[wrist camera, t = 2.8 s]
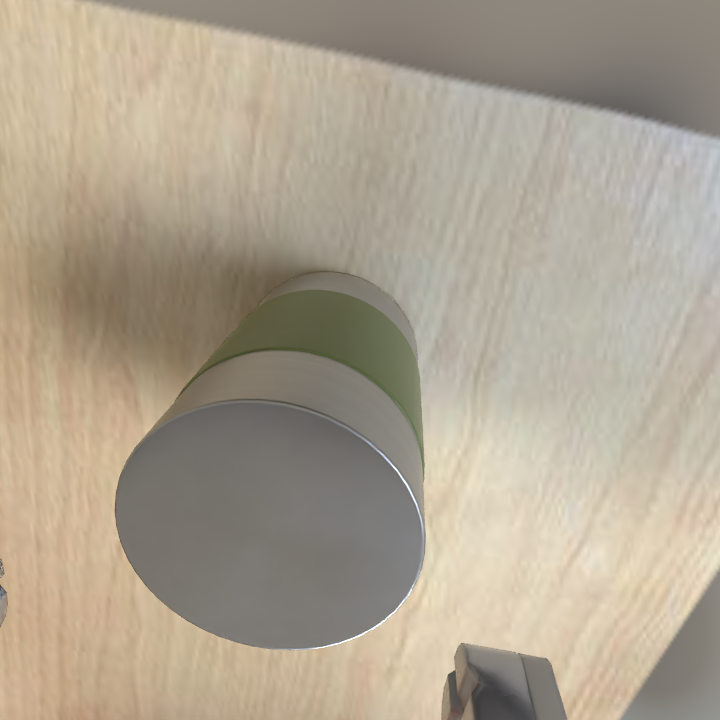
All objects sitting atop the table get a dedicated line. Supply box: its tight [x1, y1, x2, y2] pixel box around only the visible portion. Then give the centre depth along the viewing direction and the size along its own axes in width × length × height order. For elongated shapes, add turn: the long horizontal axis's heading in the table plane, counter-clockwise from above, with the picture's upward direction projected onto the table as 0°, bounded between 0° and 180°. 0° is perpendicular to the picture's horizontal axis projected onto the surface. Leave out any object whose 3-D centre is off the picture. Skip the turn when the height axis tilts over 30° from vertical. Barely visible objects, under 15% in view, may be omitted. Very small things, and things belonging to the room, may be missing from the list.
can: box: [115, 272, 426, 650], centre depth 16 cm, size 7×7×10 cm
